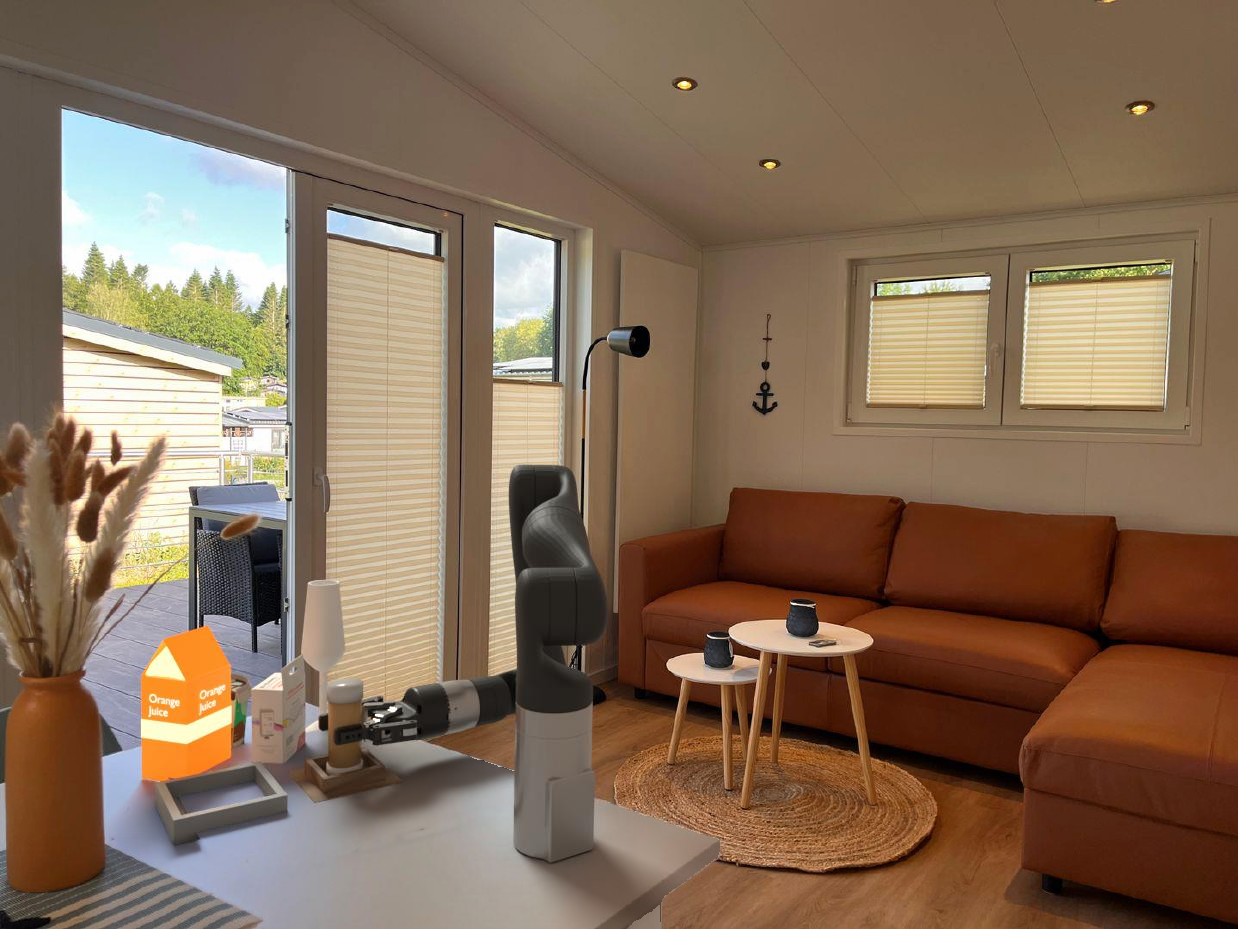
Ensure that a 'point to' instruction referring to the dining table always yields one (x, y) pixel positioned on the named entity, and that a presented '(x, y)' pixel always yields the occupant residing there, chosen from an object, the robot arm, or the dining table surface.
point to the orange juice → (185, 707)
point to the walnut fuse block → (342, 778)
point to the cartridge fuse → (344, 724)
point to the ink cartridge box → (279, 714)
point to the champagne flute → (322, 634)
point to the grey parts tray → (188, 825)
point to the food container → (239, 707)
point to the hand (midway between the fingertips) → (327, 730)
